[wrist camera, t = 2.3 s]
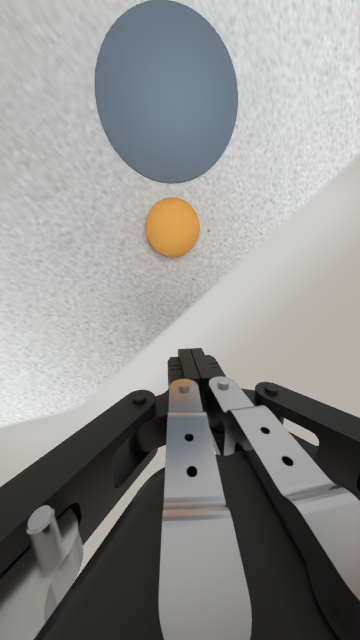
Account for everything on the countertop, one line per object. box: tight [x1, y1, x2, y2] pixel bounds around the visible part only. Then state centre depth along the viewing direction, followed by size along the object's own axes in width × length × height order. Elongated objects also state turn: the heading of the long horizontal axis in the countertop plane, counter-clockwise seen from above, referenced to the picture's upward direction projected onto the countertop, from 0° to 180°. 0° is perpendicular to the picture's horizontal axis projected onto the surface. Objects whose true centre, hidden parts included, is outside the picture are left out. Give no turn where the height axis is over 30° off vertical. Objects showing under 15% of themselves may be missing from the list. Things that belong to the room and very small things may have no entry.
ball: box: [146, 198, 199, 257], centre depth 21 cm, size 6×6×6 cm
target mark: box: [95, 0, 238, 183], centre depth 20 cm, size 14×14×1 cm
